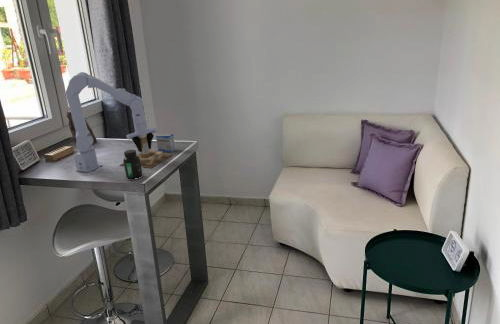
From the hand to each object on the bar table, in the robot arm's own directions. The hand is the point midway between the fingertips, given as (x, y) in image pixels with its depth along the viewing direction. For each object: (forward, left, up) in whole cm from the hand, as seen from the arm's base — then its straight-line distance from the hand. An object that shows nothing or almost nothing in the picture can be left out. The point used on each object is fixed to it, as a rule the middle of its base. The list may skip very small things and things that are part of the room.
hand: (144, 150), depth 190 cm
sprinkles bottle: (0, 0, -5) cm, 5 cm away
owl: (+18, +55, -6) cm, 58 cm away
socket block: (0, 0, -5) cm, 5 cm away
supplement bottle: (-20, -8, -6) cm, 22 cm away
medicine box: (+15, -2, -6) cm, 16 cm away
